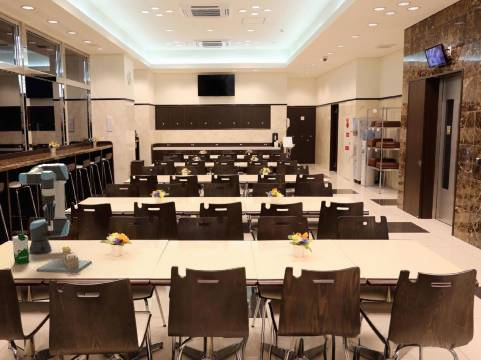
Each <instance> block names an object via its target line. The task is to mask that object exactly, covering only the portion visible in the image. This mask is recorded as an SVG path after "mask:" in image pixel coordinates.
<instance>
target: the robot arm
mask: <svg viewBox="0 0 481 360" xmlns="http://www.w3.org/2000/svg"><path fill="white" fill-rule="evenodd" d="M67 180H69V172H68V168H67V165H66V164H64V163H47V164H45V163H43V164H38V165H36V166H34V167H32V168H31V169H30V171H28V172H22V173H20V174H19V175H18V182H19V184H20V185H41V194H42V195H41V196H42V197H41V199H42V202H44V204H43V205H44V206H42V207H41V209H42V211H43V216H44V217H43V219H37V220H34V221H32V222H30V226H29V230H30V245H29V247H28V249H29V255H44V254H48V253H50V252H51V251H52V249H53V248H52V246H51V244H50V241H49V238H56V237H58V238H60V237H61V238H62V237H66V236H68V235H69V231H70V226H71V225H70V222H71V221H70V220H69V219H68V217H67V216H66V206H65V205H66V204H65V203H66V202H65V201H66V200H65V197H66V196H65V184H66V183H67Z"/></svg>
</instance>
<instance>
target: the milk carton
mask: <svg viewBox="0 0 481 360" xmlns="http://www.w3.org/2000/svg"><path fill="white" fill-rule="evenodd" d="M12 244H13V245H12V246H13V259H14V263H15V264H16V265H23V264H27V263H28V264H29V263H30V253H29V236H27V235H25V233H18V234H17V235H15V236H12Z"/></svg>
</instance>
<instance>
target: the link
mask: <svg viewBox="0 0 481 360" xmlns="http://www.w3.org/2000/svg"><path fill="white" fill-rule="evenodd" d="M70 255H74V258H70ZM62 257H63V258H64V263H65V264H66V268H67V269H68V270H71V269H77V268H79V260H80V259H79V257H78V255H76V254H73V253H72V252H71V251H69V252H63V251H62ZM63 258H62V259H63Z"/></svg>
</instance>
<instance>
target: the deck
mask: <svg viewBox="0 0 481 360" xmlns="http://www.w3.org/2000/svg"><path fill="white" fill-rule="evenodd" d="M61 249H62V253H63V252H69V251H70V252H71V251H72V249H71V248H70V247H69V246H63V247H62V248H61ZM74 255H75V254H73V255H70V258H74ZM92 263H93V262H92V260H87V259H86V260H85V259H83V260H81V259H79V268H77V269H71V270H68V269H67V268H66V264H65V263H64V258H62V259H60V258H59V259H56V258H55V259H51V260H50V261H48V262H47V263H45V264H43V265H41V266H39V267H37V268H36V272H46V273H47V272H48V273H49V272H50V273H53V272H54V273H69V272H70V273H72V274H73V273H74V274H77V273H78V272H80V271H82V270H83V269H85V268H86V267H88V266H89V265H91V264H92Z"/></svg>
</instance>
